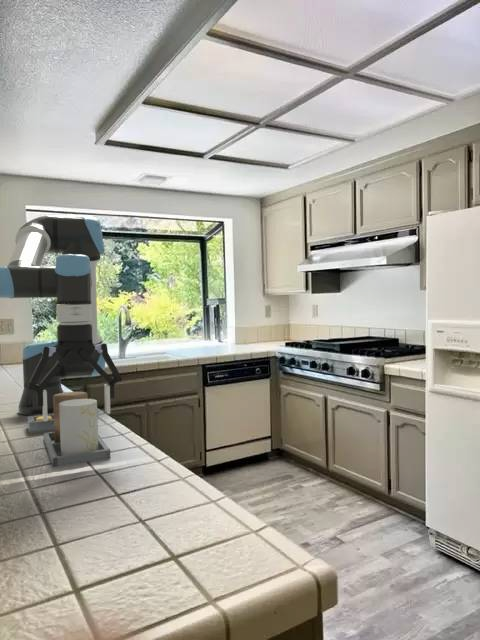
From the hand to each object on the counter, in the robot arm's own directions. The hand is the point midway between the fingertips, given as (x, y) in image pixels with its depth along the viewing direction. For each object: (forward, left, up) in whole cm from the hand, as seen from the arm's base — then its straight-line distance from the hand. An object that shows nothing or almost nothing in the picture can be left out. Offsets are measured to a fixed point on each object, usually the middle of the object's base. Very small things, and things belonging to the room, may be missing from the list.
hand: (77, 416), depth 109 cm
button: (-28, -5, -9) cm, 30 cm away
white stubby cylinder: (0, 0, -9) cm, 9 cm away
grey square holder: (-28, -5, -10) cm, 30 cm away
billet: (-11, 0, -9) cm, 14 cm away
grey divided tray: (-5, 0, -10) cm, 11 cm away
